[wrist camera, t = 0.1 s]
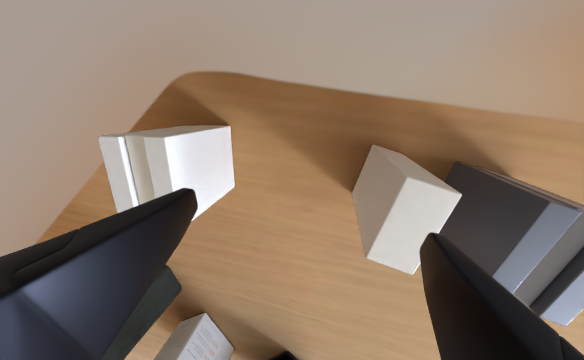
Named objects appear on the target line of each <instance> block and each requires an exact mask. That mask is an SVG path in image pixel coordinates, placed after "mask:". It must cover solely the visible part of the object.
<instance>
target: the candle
mask: <svg viewBox="0 0 584 360" xmlns="http://www.w3.org/2000/svg"><path fill="white" fill-rule="evenodd" d="M180 291H181V285H180V284H179V282H178V281H177V279H176V277H175V276H174V274H173V273H172V271H171V270H170V268H169V267H167V266H165V265H164V267H163V268H162V270H161V271H160V273H159V274H158V276H157V277H156V278H155V280H154V281H153V283H152V284H151V286H150V287H149V289H148V290H147V292H146V293H145V295H144V296H143V298H142V299H141V301H140V302H139V304H138V305H137V307H136V308H135V310H134V311H133V313H132V314H131V315H130V317H129V318H128V320H127V321H126V323H125V324H124V326H123V327H122V329H121V330H120V332H119V333H118V335H117V336H116V338H115V339H114V341H113V342H112V344H111V345H110V347H109V348H108V350H107V351H106V352H105V354H104V355H103V357H102V358H101V360H124V358H125V357H126V356H127V355H128V354H129V353H130V351H131V350H132V349H133V348H134V347H135V345H136V344H137V343H138V342H139V341H140V339H141V338H142V337H143V336H144V335H145V333H146V332H147V331H148V330H149V329H150V327H151V326H152V325H153V324H154V323H155V321H156V320H157V319H158V318H159V317H160V315H161V314H162V313H163V312H164V311H165V309H166V308H167V307H168V306H169V305H170V303H171V302H172V301H173V300H174V299H175V297H176V296H177V295H178V294H179V293H180Z"/></svg>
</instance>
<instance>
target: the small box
mask: <svg viewBox="0 0 584 360" xmlns="http://www.w3.org/2000/svg"><path fill="white" fill-rule="evenodd" d="M233 351H234V348H233V346H232V345H231V344H230V343H229V341H228V340H227V339H226V338H225V336H224V335H223V334H222V333H221V331H220V330H219V329H218V328H217V326H216V325H215V324H214V323H213V321H212V320H211V319H210V318H209V316H208V315H207V314H206V313H203V314H200V315H197V316H195V317H192V318H190V319H187V320H184V321H182V322H180V323H179V324H178V326H177V327H176V329H175V330H174V331H173V333H172V334H171V336H170V337H169V339H168V340H167V341H166V343H165V344H164V346H163V347H162V349H161V350H160V351H159V353H158V354H157V356H156V357H155V359H154V360H230V358H231V356H232V353H233Z"/></svg>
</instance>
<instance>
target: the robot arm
mask: <svg viewBox="0 0 584 360" xmlns="http://www.w3.org/2000/svg"><path fill="white" fill-rule="evenodd" d="M197 209H198V203H197V198H196V193H195V191H194V190H193V189H190V188H181V189H179V190H176V191H174V192H171V193H168V194H166V195H163V196H161V197H158V198H156V199H153V200H150V201H148V202H145V203H143V204H140V205H138V206H135V207H133V208H130V209H127V210H125V211H122V212H120V213H117V214H115V215H112V216H109V217H107V218H104V219H102V220H99V221H97V222H94V223H92V224H89V225H86V226H84V227H81V228H80V229H76V230H73V231H71V232H68V233H66V234H63V235H61V236H58V237H55V238H53V239H50V240H47V241H45V242H42V243H39V244H36V245H33V246H31V247H28V248H25V249H22V250H19V251H17V252H13V253H10V254H8V255H5V256H2V257H0V360H101V358H102V357H103V355H104V354H105V352H106V351H107V350H108V348H109V347H110V345H111V344H112V342H113V341H114V339H115V338H116V336H117V335H118V333H119V332H120V330H121V329H122V327H123V326H124V324H125V323H126V321H127V320H128V318H129V317H130V315H131V314H132V313H133V311H134V310H135V308H136V307H137V305H138V304H139V302H140V301H141V299H142V298H143V296H144V295H145V293H146V292H147V290H148V289H149V287H150V286H151V284H152V283H153V281H154V280H155V278H156V277H157V276H158V274H159V273H160V271H161V270H162V268H163V267H164V265H165V264H166V262H167V261H168V259H169V258H170V256H171V255H172V253H173V252H174V250H175V249H176V247H177V246H178V244H179V243H180V241H181V239H182V238H183V236H184V234H185V232H186V230H187V228H188V226H189V225H190V223H191V221H192V219H193V217H194V215H195V213H196V211H197ZM419 254H420V262H421V269H422V277H423V284H424V291H425V297H426V301H427V305H428V309H429V313H430V317H431V321H432V325H433V329H434V333H435V337H436V341H437V345H438V349H439V353H440V357H441V360H584V355H583V354H581V353H580V352H579V351H578V350H577V349H576V348H574V347H573V346H572V345H571V344H570V343H569V342H568V341H566V340H565V339H564V338H563V337H561V336H559V334H558V333H557V332H556V331H555V330H554V329H552V328H551V327H550V326H549V325H548V324H547V323H545V322H544V321H543V320H542V319H541V318H540V317H538V316H537V315H536V314H535V313H534V312H533V311H531V310H530V309H529V308H528V307H527V306H526V305H525V304H523V303H522V302H521V301H520V300H519V299H518V298H516V297H515V296H514V295H513V294H512V293H511V292H509V291H508V290H507V289H506V288H505V287H504V286H502V285H501V284H500V283H499V282H498V281H497V280H495V279H494V278H493V277H492V276H491V275H490V274H489V273H487V272H486V271H485V270H484V269H483V268H482V267H480V266H479V265H478V264H477V263H476V262H475V261H473V260H472V259H471V258H470V257H469V256H468V255H466V254H465V253H464V252H463V251H462V250H461V249H459V248H458V247H457V246H456V245H455V244H454V243H453V242H451V241H450V240H449V239H448V238H447V237H446V236H444V235H443V234H439V233H433V232H430V233H429V234H428V235H427V236H426V238H425V240H424V242H423V243H422V245H421V247H420V251H419ZM270 360H297V359H296V358H295V357H294V356H293V355H292V354H291V353H290V352H287V351H286V352H284V353H282V354H280V355H278V356H276V357H274V358H272V359H270Z"/></svg>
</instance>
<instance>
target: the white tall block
mask: <svg viewBox="0 0 584 360" xmlns="http://www.w3.org/2000/svg"><path fill="white" fill-rule="evenodd" d="M461 196H462V194H461V193H460V192H458V191H457V190H455V189H454V188H452V187H451V186H449V185H448V184H446V183H445V182H443V181H442V180H440V179H439V178H437V177H436V176H434V175H433V174H431V173H430V172H428V171H427V170H425V169H424V168H422V167H421V166H419V165H418V164H416V163H415V162H413V161H412V160H410V159H409V158H407V157H406V156H404V155H403V154H401V153H398V152H395V151H392V150H389V149H386V148H382V147H379V146H376V145H372V147H371V149H370V152H369V154H368V156H367V159H366V161H365V164H364V166H363V168H362V171H361V173H360V175H359V178H358V180H357V182H356V185H355V187H354V189H353V192H352V197H353V202H354V206H355V211H356V216H357V221H358V225H359V230H360V235H361V239H362V244H363V249H364V253H365V257H366V258H367V259H370V260H372V261H375V262H378V263H381V264H384V265H386V266H389V267H392V268H395V269H398V270H400V271H403V272H406V273H409V274H411V275H413V274H414V272H415V270H416V269H417V267H418V266H419V264H420V254H419V251H420V247H421V245H422V243H423V242H424V240H425V238H426V236H427V235H428V234H429V233H430V232H433V233H439V232H440V230H441V228H442V227H443V225H444V224H445V222H446V220H447V219H448V217H449V215H450V214H451V212H452V211H453V209H454V207H455V206H456V204H457V203H458V201H459V199H460V198H461Z"/></svg>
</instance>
